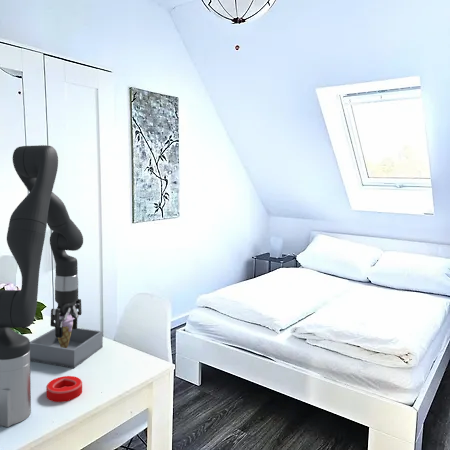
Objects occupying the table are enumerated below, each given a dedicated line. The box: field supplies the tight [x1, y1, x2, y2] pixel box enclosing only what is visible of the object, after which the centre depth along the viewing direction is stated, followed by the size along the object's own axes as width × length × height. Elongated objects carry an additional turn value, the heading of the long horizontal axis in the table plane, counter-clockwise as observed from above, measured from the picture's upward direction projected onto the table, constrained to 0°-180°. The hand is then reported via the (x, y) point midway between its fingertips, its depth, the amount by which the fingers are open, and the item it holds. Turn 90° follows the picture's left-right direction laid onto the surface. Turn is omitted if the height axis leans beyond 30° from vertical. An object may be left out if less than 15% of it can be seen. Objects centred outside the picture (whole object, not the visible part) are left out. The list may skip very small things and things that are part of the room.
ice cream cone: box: [54, 313, 75, 348], centre depth 145 cm, size 7×6×15 cm
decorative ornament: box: [45, 375, 83, 403], centre depth 121 cm, size 10×10×3 cm
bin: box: [29, 327, 104, 369], centre depth 147 cm, size 18×18×6 cm
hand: (66, 332), depth 146 cm, fingers open, 8 cm apart
